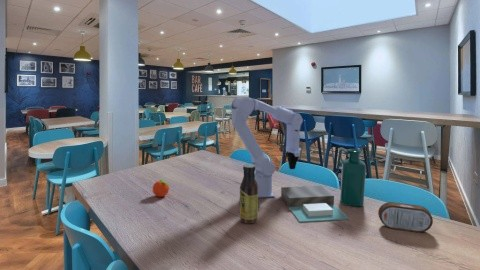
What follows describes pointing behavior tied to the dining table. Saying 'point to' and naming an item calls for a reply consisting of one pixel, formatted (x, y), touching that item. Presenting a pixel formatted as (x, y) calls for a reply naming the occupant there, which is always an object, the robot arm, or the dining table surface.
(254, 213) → the sauce bottle
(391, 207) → the tin
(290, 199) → the grey flat block
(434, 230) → the dining table surface
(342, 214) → the mat
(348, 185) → the green bottle
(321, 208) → the white block
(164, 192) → the clementine
